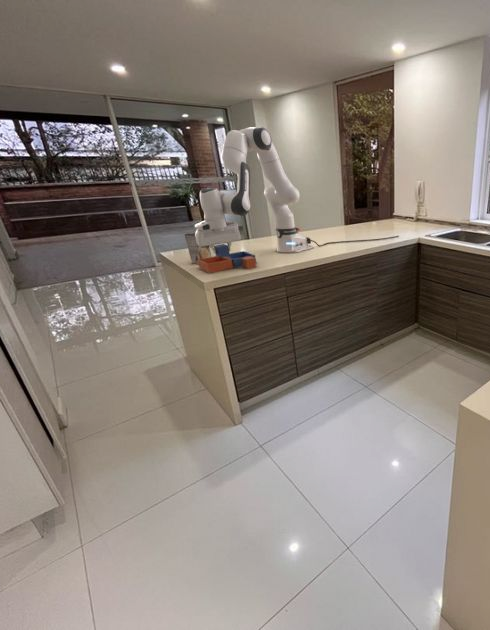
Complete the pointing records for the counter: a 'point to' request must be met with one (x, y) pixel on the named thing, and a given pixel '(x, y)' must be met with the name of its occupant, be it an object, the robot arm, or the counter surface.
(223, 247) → the blue block
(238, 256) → the blue bin
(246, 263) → the clay block
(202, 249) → the coffee box
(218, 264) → the clay bin
